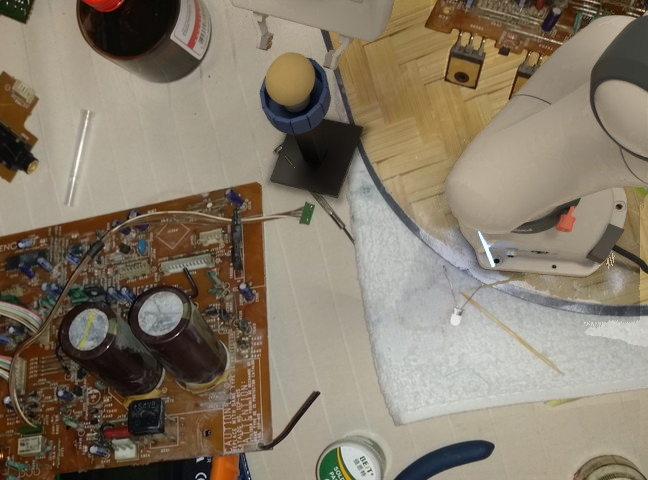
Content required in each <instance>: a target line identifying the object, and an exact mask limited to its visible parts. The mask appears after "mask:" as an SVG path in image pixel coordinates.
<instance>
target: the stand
mask: <svg viewBox="0 0 648 480" xmlns="http://www.w3.org/2000/svg"><path fill="white" fill-rule="evenodd" d="M363 132H364V126H361V125H356V124H353V123H347V122H342V121H338V120H333V119H328V118H324V119H323V120H322V121H321V122H320V123H319V124H318V125H317V126H316V127H315V128H313V129H312V130H310V131H308V132H305V133H302V134H295V135H293V134H286V133H285V136H284V139H283V142H282V145H281V148H282V149H281V148H280V151H279V153H278V156H277V159H276V162H275V165H274V167H273V170H272V173H271V175H270V179H269V181H270V182H271V183H274V184H279V185H283V186H287V187H290V188H295V189H299V190H303V191H306V192H310V193H315V194H319V195H322V196H326V197H331V198H334V199H339V197H340V194H341V191H342V189H343V186H344V183H345V181H346V178H347V175H348V172H349V170H350V167H351V164H352V161H353V159H354V156H355V154H356V151H357V148H358V146H359V143H360V140H361V137H362V135H363ZM285 156H287V157H288V158H289V159H290V160H291V162H292V163H293V165H292V166H291V165H290V164H289V163H288V162H287V161H286V159H285V158H286V157H285ZM294 167H295V168H294Z"/></svg>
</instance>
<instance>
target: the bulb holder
mask: <svg viewBox="0 0 648 480" xmlns="http://www.w3.org/2000/svg"><path fill="white" fill-rule="evenodd" d="M305 57H306V56H305ZM306 58H307V59H308V60H309V61H310V62H311V63H312V65H313V68H314V70H315V82H314V86H313V89H312V91H311V92H310V102H309V104H308V106H307V107H306V108H305V109H304V110H302V111H300V112H296V113H294V112H290V111H288V110H287V109H286V108H285V106H284V105H281V104H279V103H277V102H275V101H274V100H273V99H272V98H271V97H270V95H269V94H268V92H267V89H266V85H265V78H266V75H264V78H263V80H262V83H261V86H260V89H259V99H260V104H261V108H262V111H263V113H264V115H265V117H266V119H267V121H268V122H269V123H270V124H271V125H272V126H273V128H274V129H276V130H278V132H280V133H283V134H285V135H286V134H293V135H295V134H302V133H305V132H308V131H310V130H312V129H313V128H315V127H316V126H317V125H318V124H319V123H320V122H321V121H322V120H323V119H325V117H326V116H327V114H328V113H329V109H330V107H331V101H332V95H331V90H330V85H329V80H328V76H327V71H326V70H325V68H324V67H323V66H322V65H320V63H318V61H317V60H316V59H314V58H311V57H306Z"/></svg>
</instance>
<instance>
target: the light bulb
mask: <svg viewBox="0 0 648 480" xmlns="http://www.w3.org/2000/svg"><path fill="white" fill-rule="evenodd" d="M307 58H308V57H307ZM307 58H306V56H305V55H303V54H301V53H298V52H293V51H289V52H284V53H282V54H280V55H279V56H278V57H276V58H275V59H274V60H273V62H271V64H270V65H269V67H268V69H267V71H266V73H265V76H266V78H265V85H266V89H267V92H268V94H269V95H270V97H271V98H272V99H273V100H274V101H275V102H277V103H279V104H281V105H284V106H285V108H286V109H287V110H288V111H290V112H294V113H296V112H300V111H302V110H304V109H305V108H306V107H307V106H308V104H309V102H310V92H311V91H312V89H313V86H314V82H315V70H314V68H313V65H312V63H311V62H310V61H309V60H308V59H307Z"/></svg>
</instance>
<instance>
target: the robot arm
mask: <svg viewBox="0 0 648 480" xmlns="http://www.w3.org/2000/svg"><path fill="white" fill-rule="evenodd" d="M230 3H231V5H232V6H233V7H235V8H238V9H243V10H247V11H250V12H252V18H251V21H252V24H253V27H254V30H255V33H256V35H257V40H256V47H255V48H256V49H257V50H261V51H265V52H268V51H269V50H270V49H271V48H272V46H273V41H272V40H273V39H274V35H275V34H274V33H273V32H269V30H268V26H267V25H268V24H267V21H266V19H267V18H268V17H273V18H276V19H279V20H280V19H281V20H284V21H288V22H292V23H295V24H299V25H304V26H307V27H311V28H314V29H318V30H321V31H325V32H330V33H334V34H337V35H338V37H337V38H338V39H337V43H338V44H340V46H339V47H338V48H337V49H329V50H328V52H326V53H325V56H324V62H323V65H322V68H324V69H328V70H331V71H335V70H336V69H337V68H339V67H338V66H339V65H340V61H341V57H342V54H343V53H344V52H345V51H346V49H347V48H348V47H349V46H350V45H351V44H352V43H353V41H355V39H356V40H360V41H364V42H368V43H372V42H374V41H376V40H377V39H379V38H381V36H382V35H384V33H385V32H386V31H387V29H388V27H389V25H390V22H391V18H392V13H393V8H394V4H395V0H230ZM624 188H646V189H647V188H648V9H647V10H646V11H645V12H644V13H643V14H642V16H638V17H634V16H629V15H622V14H621V15H620V14H618V15H617V14H616V15H615V14H614V15H605V16H601V17H598V18H596V19H594V20H593V21H591V22H590V23H589V24H587V25H586V26H585V27H583V28H582V29H581V30H579V31H578V32H577V33H575V34H574V35H572V36H571V37H570V38H568V39H567V40H566V41H565V42H564V43H562V45H560V46H559V47H558V48H556V49H555V50H554V51H553V52H552V53H551V54H550V55H549V56H548V57H547V58H546V59H545V60H544V62H542V64H541V65H540V66H539V67H538V68H537V69H536V70H535V72H534V73H533V74H532V75H531V76H530V77H529V78H527V80H526V81H525V82H524V83H523V85H522V86H521V87H520V88H519V89H518V90H517V91H516V92H515V93H514V94H513V95H512V96H511V98H510V99H509V100H508V101H507V102H505V104H504V105H503V106H502V107H501V109H499V110H498V112H497V113H496V114H495V115H494V116H493V117H492V118H491V120H489V122H487V124H486V125H485V126H484V127H483V128H482V129H481V130H480V131H479V132H478V133H477V134H476V136H474V137H473V138H472V140H471V141H470V142H468V144H467V145H466V147H465V148H464V150H463V151H462V153H461V154H460V156H459V157H458V159H457V160H456V161H455V163H454V165H453V166H452V168H451V170H450V171H449V173H448V174H447V176H446V178H445V180H444V181H443V190H444V197H445V200H446V203H447V206H448V208H449V210H450V212H451V213H452V215H453V216H454V217H455V218H456V219H457V222H458V227H459V229H460V231H461V234H462V236H463V237H464V239H465V240H466V241H467V242H468V244H470V245H471V247H472V248H473V250H474V252H475V256H476V258H477V262H478V264H479V266H480V267H481V268H483V269H484V270H491V271H492V270H493V271H503V272H505V271H506V272H515V273H517V272H518V273H527V274H537V275H539V274H540V275H551V276H563V277H575V278H587V277H589V276H591V275H592V274H594V273H595V272H597V271H598V270H599V269H600V268H601V267H602V266H603V265H604V264H605V262H607V260H608V258H610V256H611V255H612V253H613V252H614V253H617V254H619V255H620V256H622V257H624V258H626V259H628V260H629V261H631V262H633V263H634V264H636V265H637V266H638V267H639V268H640V270H641V271H642V272H643V273H645V274H646V275H648V264H647V263H646V261H644V259H642V258H640V256H637V255H636V254H634V253H632V252H630V251H628V250H627V249H626V248H624V247H621V246H619V245H617V244H618V241H619V239H620V238H621V237H622V235H623V233H624V232H625V228H624V225H625V223H626V219H627V213H628V197H627V194H626V191H625V189H624ZM617 206H620V209H617ZM495 260H498V261H499V262H498V263H496V262H495ZM553 267H554V268H553Z"/></svg>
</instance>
